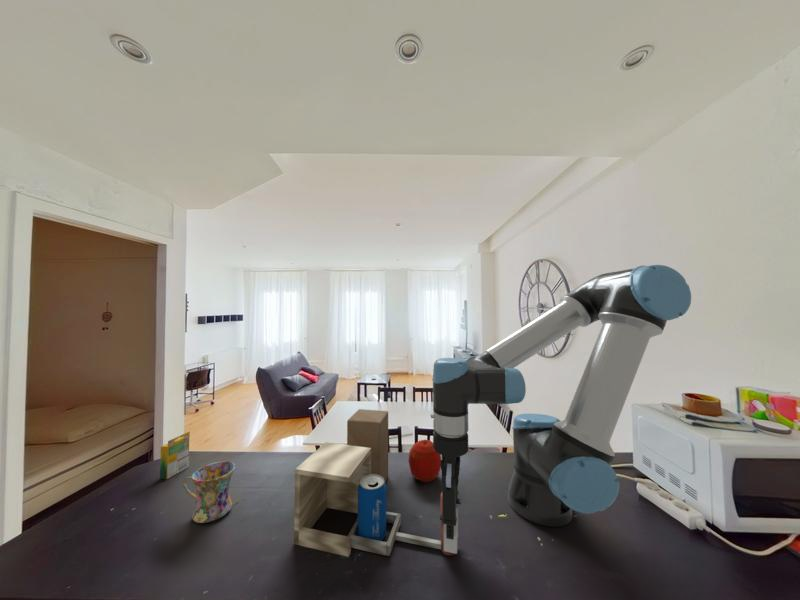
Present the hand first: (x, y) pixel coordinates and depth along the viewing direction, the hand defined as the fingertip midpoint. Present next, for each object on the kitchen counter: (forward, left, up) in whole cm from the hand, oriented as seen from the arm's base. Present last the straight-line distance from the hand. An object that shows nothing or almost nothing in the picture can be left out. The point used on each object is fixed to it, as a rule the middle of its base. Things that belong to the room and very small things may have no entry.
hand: (451, 543), depth 59 cm
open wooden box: (+27, 0, -2) cm, 27 cm away
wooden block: (+26, -18, -2) cm, 31 cm away
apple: (+10, -25, -2) cm, 27 cm away
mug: (+61, +4, -2) cm, 61 cm away
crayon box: (+88, -8, -2) cm, 88 cm away
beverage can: (+18, 0, -2) cm, 18 cm away
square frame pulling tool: (+10, 0, -1) cm, 11 cm away
